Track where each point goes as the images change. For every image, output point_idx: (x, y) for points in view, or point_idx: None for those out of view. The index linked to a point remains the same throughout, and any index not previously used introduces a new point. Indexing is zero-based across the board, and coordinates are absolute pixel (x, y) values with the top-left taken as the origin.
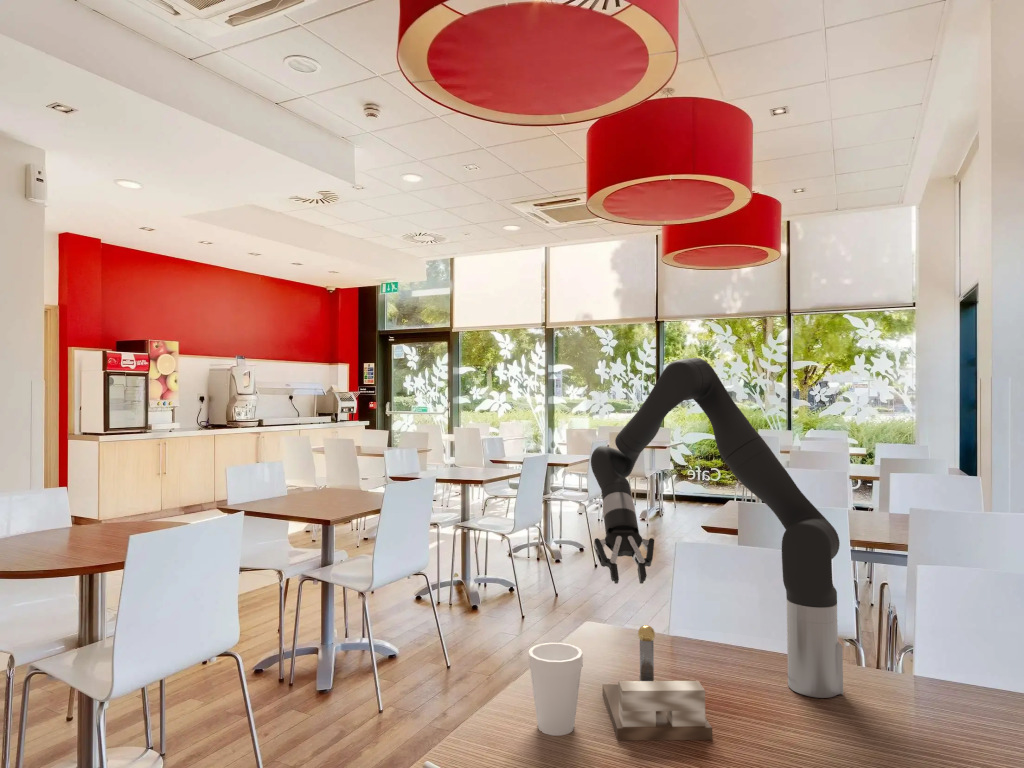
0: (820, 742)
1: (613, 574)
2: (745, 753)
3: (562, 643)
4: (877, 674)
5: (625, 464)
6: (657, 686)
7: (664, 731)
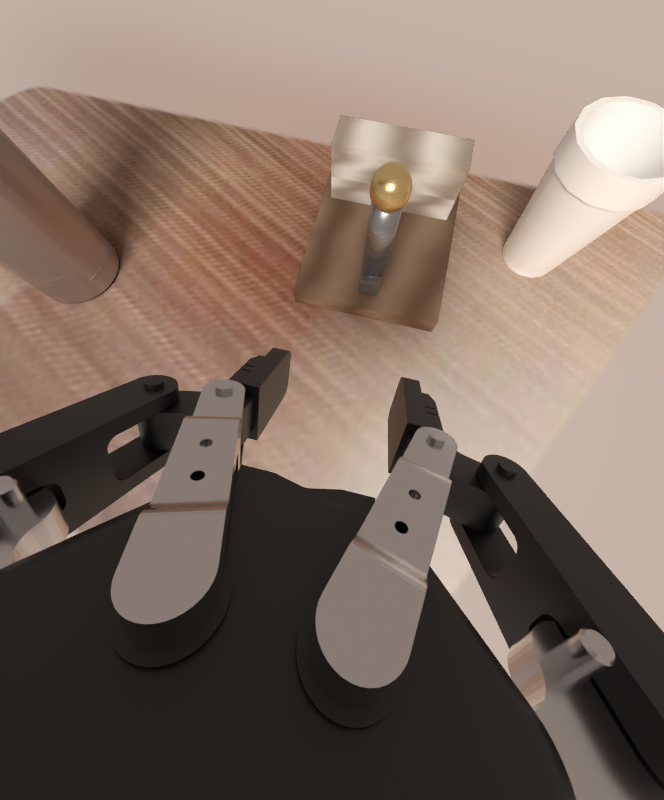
0: (206, 151)
1: (425, 402)
2: (310, 152)
3: (613, 174)
4: None
5: None
6: (410, 141)
7: None
